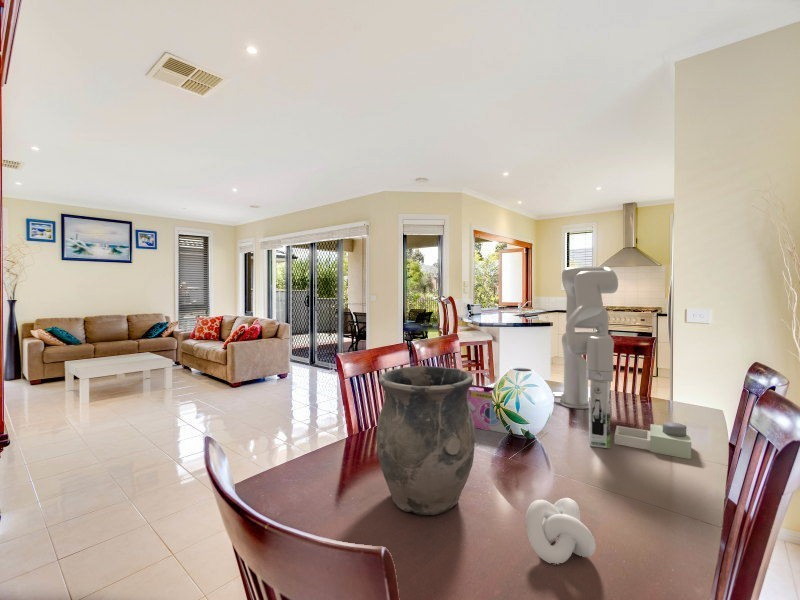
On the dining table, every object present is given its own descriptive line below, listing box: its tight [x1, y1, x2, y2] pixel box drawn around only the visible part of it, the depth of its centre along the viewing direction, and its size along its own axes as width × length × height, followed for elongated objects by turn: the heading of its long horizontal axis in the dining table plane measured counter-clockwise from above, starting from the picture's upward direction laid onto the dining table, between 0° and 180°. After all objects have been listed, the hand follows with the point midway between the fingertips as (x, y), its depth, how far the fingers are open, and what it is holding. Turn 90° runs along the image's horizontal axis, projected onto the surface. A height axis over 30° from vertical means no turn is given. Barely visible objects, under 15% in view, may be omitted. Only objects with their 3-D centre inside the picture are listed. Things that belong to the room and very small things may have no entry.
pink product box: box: [467, 384, 510, 435], centre depth 139 cm, size 24×8×14 cm, turn 59°
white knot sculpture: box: [525, 497, 597, 565], centre depth 74 cm, size 11×12×9 cm
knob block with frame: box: [614, 421, 692, 460], centre depth 124 cm, size 20×12×8 cm, turn 57°
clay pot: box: [375, 365, 476, 516], centre depth 92 cm, size 22×23×30 cm
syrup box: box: [588, 396, 611, 450], centre depth 124 cm, size 6×6×14 cm
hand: (599, 430), depth 124 cm, fingers closed on syrup box, 6 cm apart
